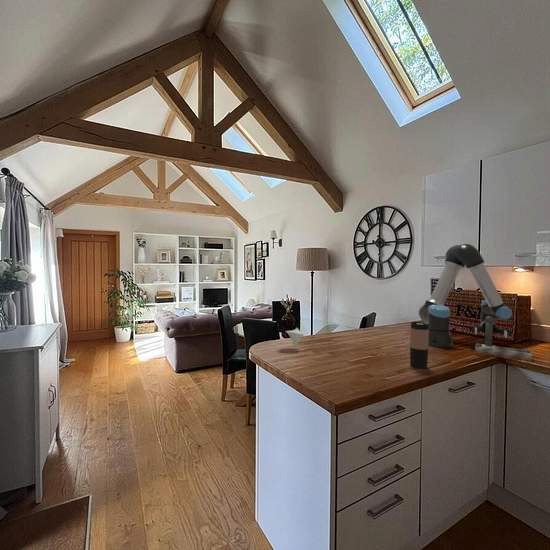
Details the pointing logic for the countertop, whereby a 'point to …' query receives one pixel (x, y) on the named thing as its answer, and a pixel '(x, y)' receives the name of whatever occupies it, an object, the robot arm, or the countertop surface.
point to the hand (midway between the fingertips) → (490, 333)
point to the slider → (488, 332)
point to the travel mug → (419, 344)
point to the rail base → (504, 352)
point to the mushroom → (295, 336)
